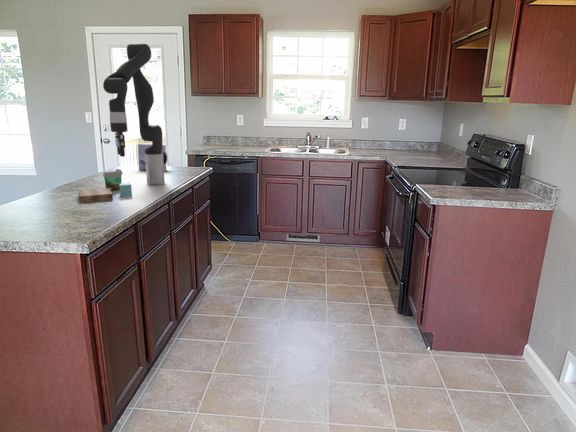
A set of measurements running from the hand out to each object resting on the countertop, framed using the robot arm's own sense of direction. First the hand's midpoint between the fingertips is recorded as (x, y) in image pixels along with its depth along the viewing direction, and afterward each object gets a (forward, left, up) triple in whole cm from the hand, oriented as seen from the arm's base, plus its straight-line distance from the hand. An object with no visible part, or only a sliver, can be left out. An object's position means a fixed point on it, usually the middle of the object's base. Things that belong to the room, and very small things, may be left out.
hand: (121, 155), depth 206 cm
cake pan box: (-30, -75, -21) cm, 83 cm away
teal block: (-1, 0, -20) cm, 20 cm away
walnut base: (+13, 0, -20) cm, 24 cm away
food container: (+1, -18, -21) cm, 27 cm away
